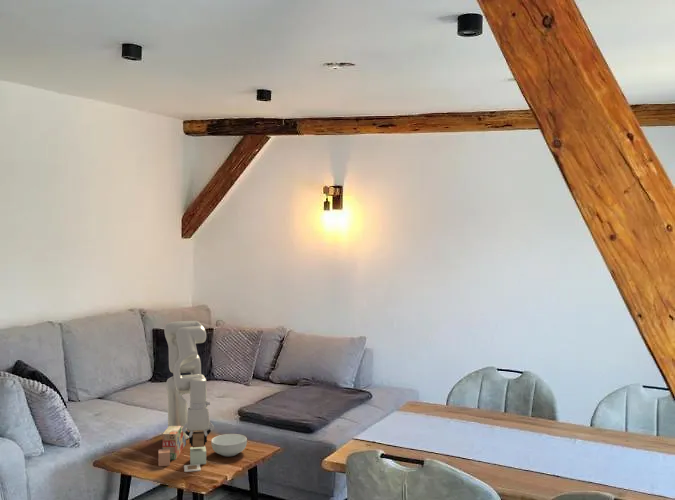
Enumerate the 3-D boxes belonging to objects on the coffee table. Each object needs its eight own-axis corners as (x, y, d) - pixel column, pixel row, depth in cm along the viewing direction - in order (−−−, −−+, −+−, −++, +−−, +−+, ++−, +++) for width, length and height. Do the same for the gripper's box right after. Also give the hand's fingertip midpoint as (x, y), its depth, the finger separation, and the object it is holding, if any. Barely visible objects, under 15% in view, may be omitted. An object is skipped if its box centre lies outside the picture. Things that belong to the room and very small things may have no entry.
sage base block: (189, 460, 304) (190, 447, 304) (205, 459, 306) (205, 446, 306) (190, 465, 298) (190, 452, 297) (206, 464, 299) (206, 451, 299)
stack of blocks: (173, 444, 326) (173, 420, 325) (185, 444, 326) (186, 420, 325) (162, 459, 304) (162, 433, 304) (175, 459, 304) (175, 433, 304)
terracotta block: (158, 462, 301) (158, 449, 300) (169, 461, 302) (169, 448, 302) (158, 466, 296) (158, 453, 296) (169, 465, 297) (170, 452, 297)
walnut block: (192, 444, 303) (192, 431, 303) (203, 443, 305) (203, 430, 304) (192, 447, 299) (192, 434, 298) (204, 446, 300) (204, 433, 300)
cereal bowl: (222, 446, 324) (222, 431, 324) (252, 450, 319) (253, 435, 319) (204, 457, 308) (204, 442, 308) (236, 461, 303) (236, 446, 303)
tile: (183, 466, 296) (183, 464, 296) (199, 465, 298) (199, 463, 298) (184, 472, 289) (184, 470, 289) (200, 470, 291) (200, 469, 291)
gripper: (216, 402, 307) (216, 440, 308) (178, 404, 302) (178, 443, 303) (217, 406, 300) (217, 445, 300) (179, 408, 295) (179, 448, 296)
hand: (198, 444), depth 302 cm, fingers closed on walnut block, 5 cm apart
